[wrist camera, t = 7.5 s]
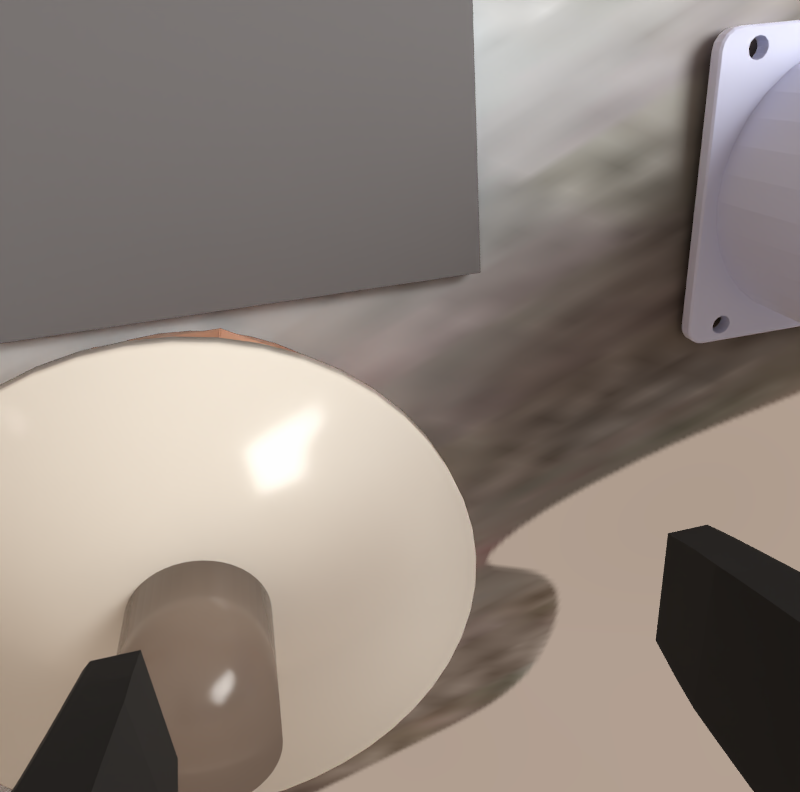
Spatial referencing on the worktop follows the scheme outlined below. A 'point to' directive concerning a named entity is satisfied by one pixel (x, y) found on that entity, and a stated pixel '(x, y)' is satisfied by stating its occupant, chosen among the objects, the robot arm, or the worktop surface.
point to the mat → (229, 155)
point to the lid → (225, 553)
